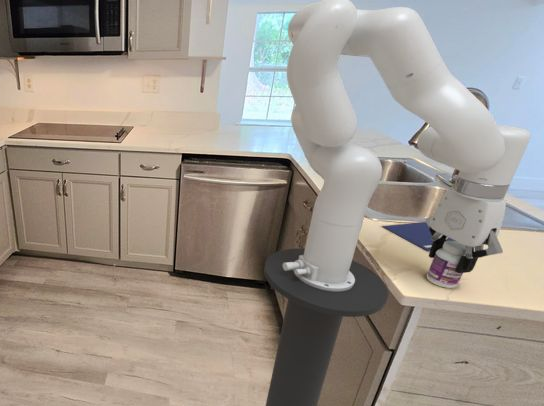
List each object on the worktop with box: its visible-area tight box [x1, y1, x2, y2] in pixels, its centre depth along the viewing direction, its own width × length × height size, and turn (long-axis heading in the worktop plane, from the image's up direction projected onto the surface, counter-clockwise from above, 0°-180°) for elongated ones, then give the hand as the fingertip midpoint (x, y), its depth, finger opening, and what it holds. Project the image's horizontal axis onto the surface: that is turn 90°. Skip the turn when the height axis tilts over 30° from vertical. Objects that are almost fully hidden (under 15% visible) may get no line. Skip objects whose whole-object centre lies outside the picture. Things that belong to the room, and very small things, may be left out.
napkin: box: [382, 221, 457, 252], centre depth 101 cm, size 14×14×1 cm
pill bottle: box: [426, 241, 466, 289], centre depth 80 cm, size 5×5×10 cm
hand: (448, 263), depth 80 cm, fingers closed on pill bottle, 5 cm apart
